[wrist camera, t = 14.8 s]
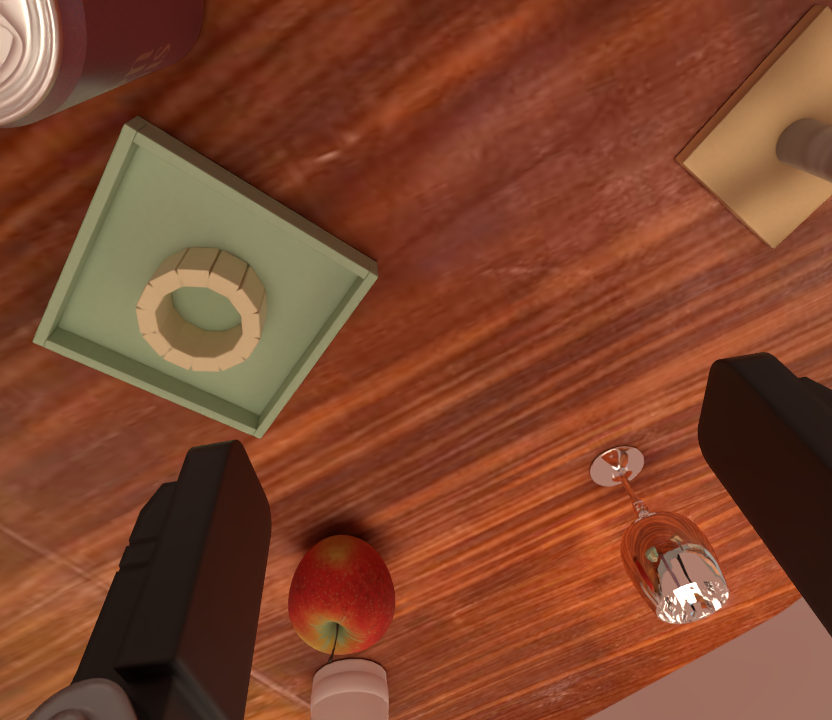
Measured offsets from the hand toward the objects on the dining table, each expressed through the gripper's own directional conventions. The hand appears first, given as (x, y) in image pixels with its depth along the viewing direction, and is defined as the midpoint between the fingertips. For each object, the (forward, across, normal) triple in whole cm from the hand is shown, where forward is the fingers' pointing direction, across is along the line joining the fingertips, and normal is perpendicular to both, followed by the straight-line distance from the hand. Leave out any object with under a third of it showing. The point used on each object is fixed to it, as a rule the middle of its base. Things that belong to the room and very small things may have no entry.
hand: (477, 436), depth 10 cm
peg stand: (+24, -22, +4) cm, 32 cm away
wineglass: (+23, -13, +28) cm, 39 cm away
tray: (+23, +12, +8) cm, 27 cm away
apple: (+23, +10, +32) cm, 41 cm away
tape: (+23, +12, +8) cm, 27 cm away
